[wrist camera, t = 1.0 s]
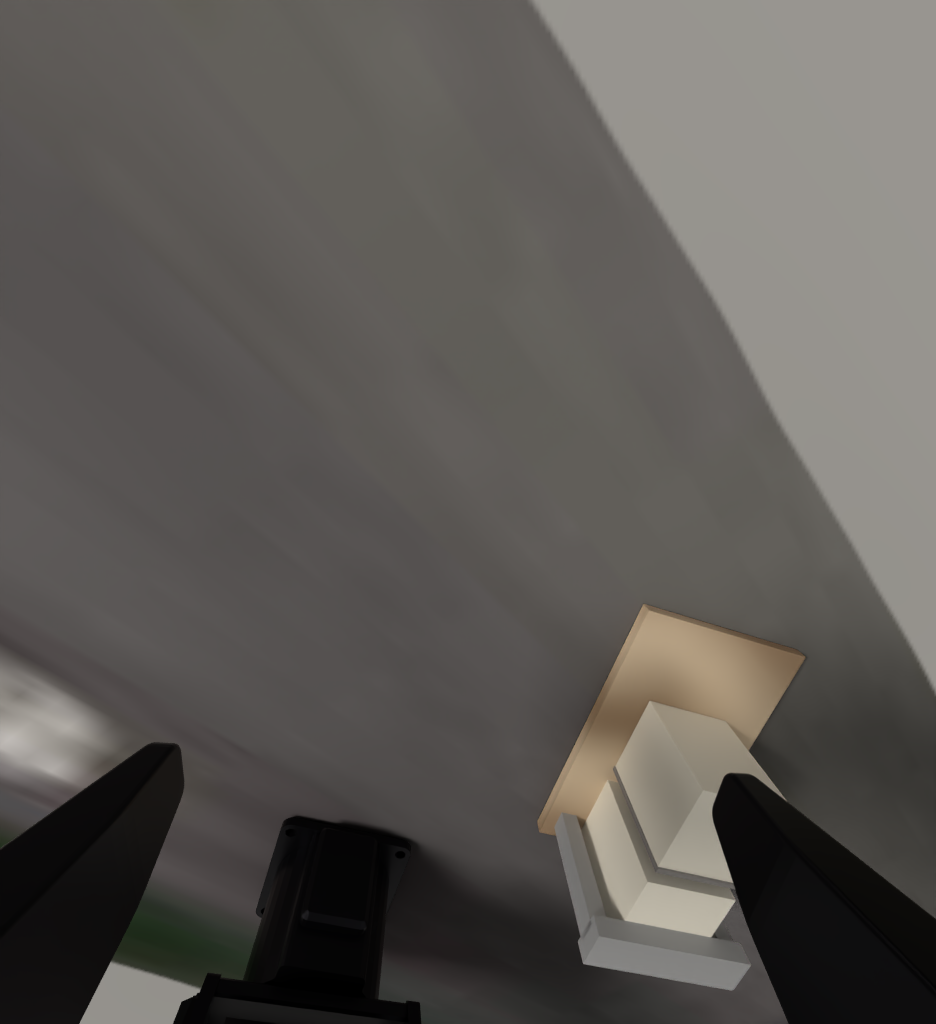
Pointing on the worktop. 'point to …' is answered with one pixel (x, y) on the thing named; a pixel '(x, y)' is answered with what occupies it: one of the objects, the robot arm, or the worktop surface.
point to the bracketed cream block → (643, 904)
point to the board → (670, 696)
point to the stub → (682, 788)
